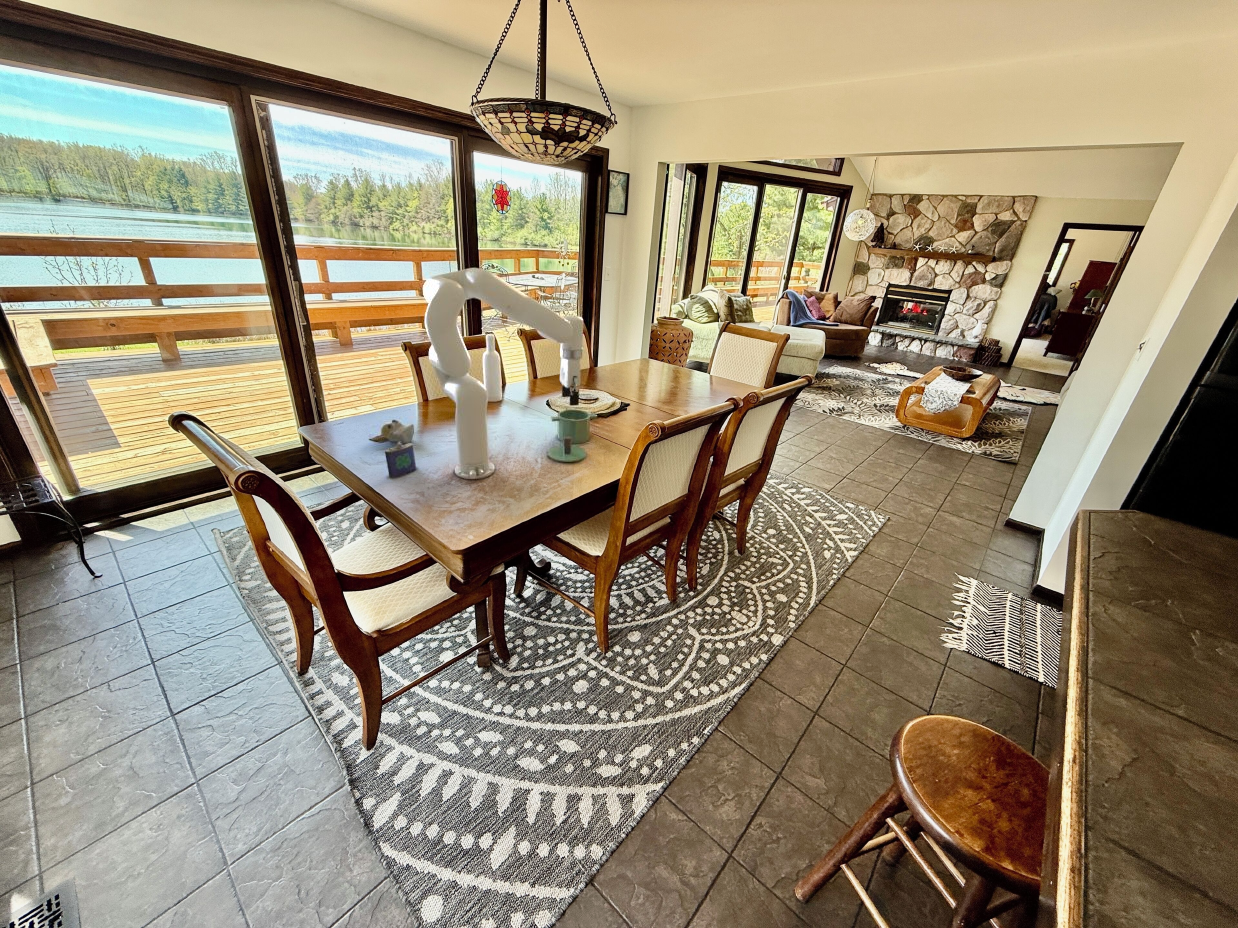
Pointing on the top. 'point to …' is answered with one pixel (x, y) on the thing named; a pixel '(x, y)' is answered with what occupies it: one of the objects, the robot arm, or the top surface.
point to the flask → (400, 460)
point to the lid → (567, 452)
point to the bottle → (492, 370)
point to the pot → (574, 425)
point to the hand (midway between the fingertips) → (570, 400)
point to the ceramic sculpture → (395, 433)
